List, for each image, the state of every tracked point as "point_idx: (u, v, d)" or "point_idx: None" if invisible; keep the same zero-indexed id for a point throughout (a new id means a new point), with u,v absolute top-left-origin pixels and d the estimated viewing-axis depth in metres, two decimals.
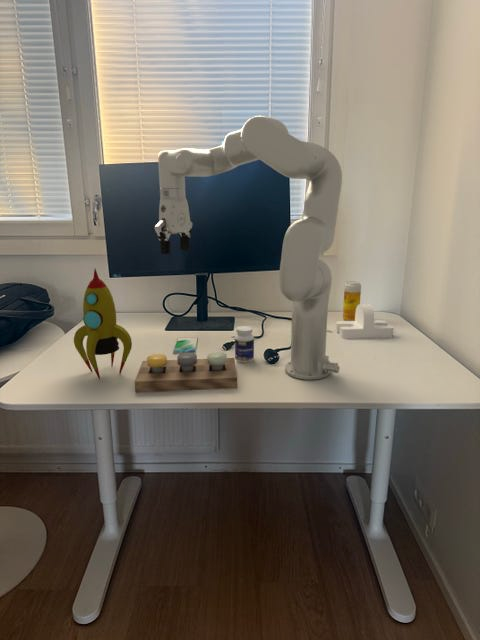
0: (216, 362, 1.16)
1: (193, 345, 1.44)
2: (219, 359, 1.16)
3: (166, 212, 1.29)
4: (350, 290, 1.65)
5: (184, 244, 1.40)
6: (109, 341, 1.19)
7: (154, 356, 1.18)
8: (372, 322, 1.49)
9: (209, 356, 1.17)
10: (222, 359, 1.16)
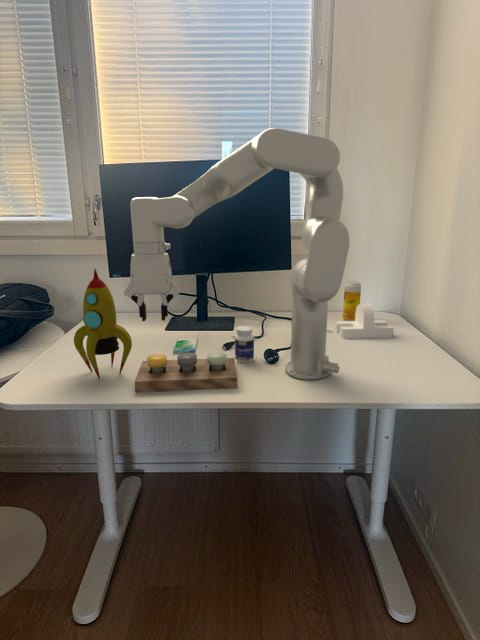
0: (216, 362, 1.16)
1: (193, 345, 1.44)
2: (219, 359, 1.16)
3: (170, 267, 1.12)
4: (350, 290, 1.65)
5: (145, 312, 1.13)
6: (109, 341, 1.19)
7: (154, 356, 1.18)
8: (372, 322, 1.49)
9: (209, 356, 1.17)
10: (222, 359, 1.16)
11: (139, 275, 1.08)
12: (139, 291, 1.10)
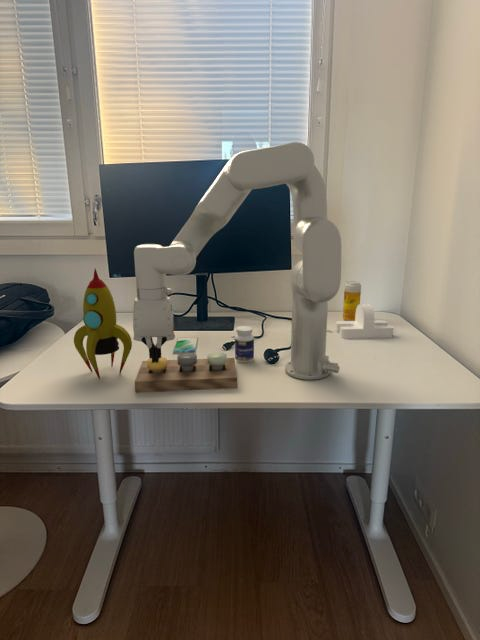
0: (216, 362, 1.16)
1: (193, 345, 1.44)
2: (219, 359, 1.16)
3: (172, 310, 1.15)
4: (350, 290, 1.65)
5: None
6: (109, 341, 1.19)
7: None
8: (372, 322, 1.49)
9: (209, 356, 1.17)
10: (222, 359, 1.16)
11: (142, 319, 1.11)
12: (141, 334, 1.13)
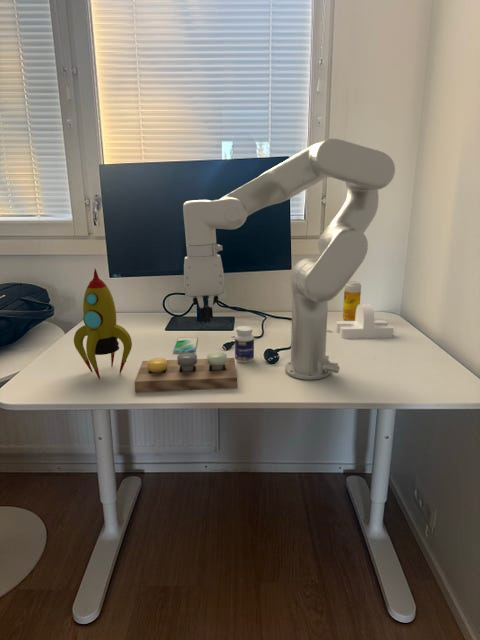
0: (216, 362, 1.16)
1: (193, 345, 1.44)
2: (219, 359, 1.16)
3: (222, 268, 1.13)
4: (350, 290, 1.65)
5: None
6: (109, 341, 1.19)
7: (154, 360, 1.18)
8: (372, 322, 1.49)
9: (209, 356, 1.17)
10: (222, 359, 1.16)
11: (193, 277, 1.09)
12: (193, 293, 1.11)
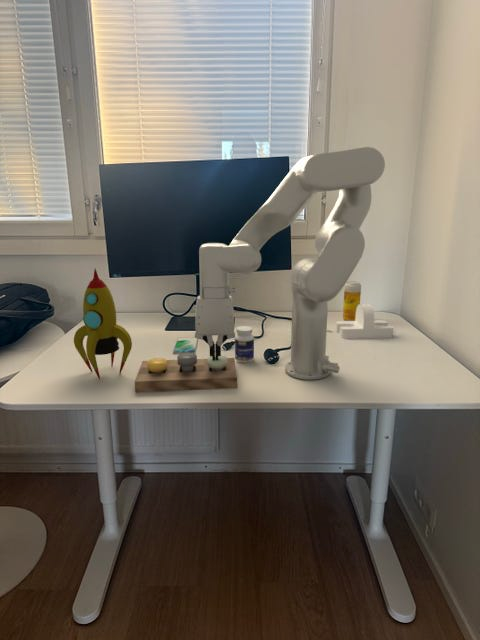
0: (216, 366, 1.16)
1: (193, 345, 1.44)
2: (219, 362, 1.16)
3: (233, 309, 1.16)
4: (350, 290, 1.65)
5: (214, 352, 1.18)
6: (109, 341, 1.19)
7: (154, 360, 1.18)
8: (372, 322, 1.49)
9: (209, 359, 1.17)
10: (222, 362, 1.16)
11: (205, 317, 1.12)
12: (204, 332, 1.14)
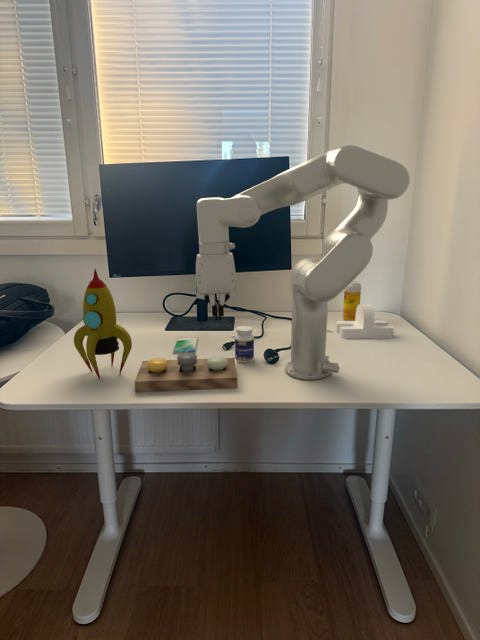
0: (216, 367, 1.16)
1: (193, 345, 1.44)
2: (219, 363, 1.16)
3: (234, 266, 1.13)
4: (350, 290, 1.65)
5: None
6: (109, 341, 1.19)
7: (154, 360, 1.18)
8: (372, 322, 1.49)
9: (209, 360, 1.18)
10: (222, 363, 1.16)
11: (205, 275, 1.09)
12: (205, 291, 1.11)
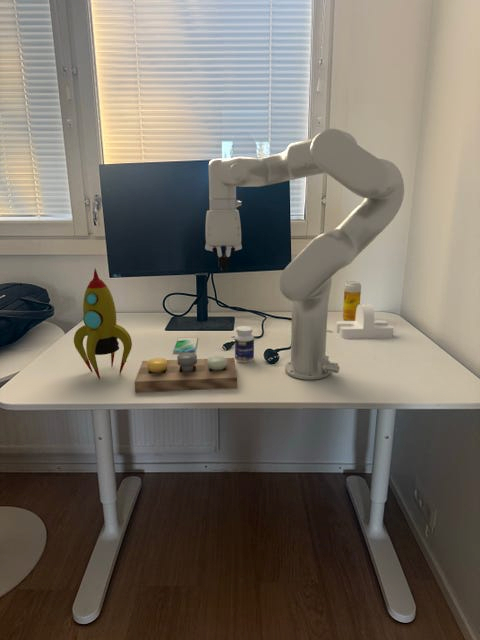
0: (216, 367, 1.16)
1: (193, 345, 1.44)
2: (219, 363, 1.16)
3: None
4: (350, 290, 1.65)
5: None
6: (109, 341, 1.19)
7: (154, 360, 1.18)
8: (372, 322, 1.49)
9: (209, 360, 1.18)
10: (222, 363, 1.16)
11: (215, 228, 1.23)
12: (214, 243, 1.25)
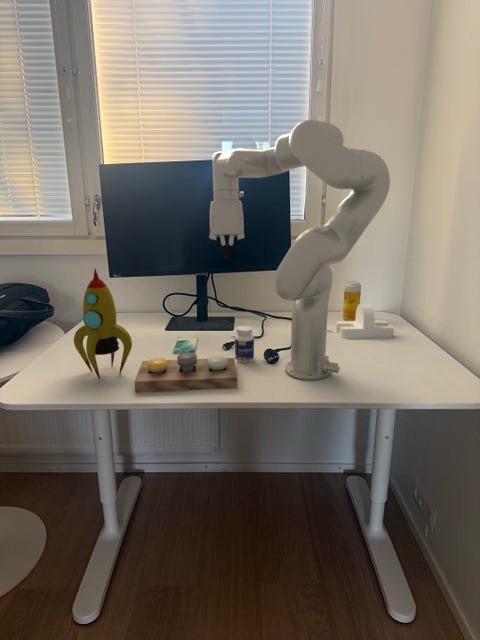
0: (216, 367, 1.16)
1: (193, 345, 1.44)
2: (219, 363, 1.16)
3: None
4: (350, 290, 1.65)
5: None
6: (109, 341, 1.19)
7: (154, 360, 1.18)
8: (372, 322, 1.49)
9: (209, 360, 1.18)
10: (222, 363, 1.16)
11: (218, 218, 1.29)
12: (217, 232, 1.31)
